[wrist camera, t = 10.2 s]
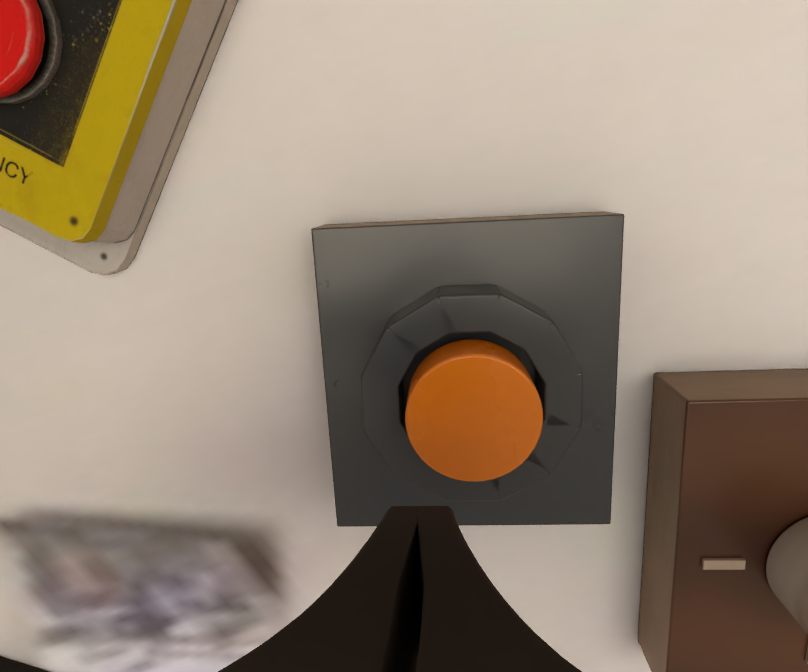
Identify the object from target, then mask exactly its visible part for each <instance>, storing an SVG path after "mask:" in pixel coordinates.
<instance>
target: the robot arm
mask: <svg viewBox="0 0 808 672" xmlns="http://www.w3.org/2000/svg"><path fill="white" fill-rule="evenodd" d="M218 672H581V671H580V670H579V669H577V668H576V667H575V666H573V665H572V664H571V663H569V662H568V661H567V660H565V659H564V658H563V657H561V656H560V655H559V654H558V653H557V652H556V651H555V650H554V649H552V648H551V647H550V646H549V645H548V644H547V643H546V642H545V641H543V640H542V639H541V638H540V637H539V636H538V635H537V634H536V633H535V632H534V631H533V630H532V629H531V628H530V627H529V626H528V625H527V624H526V623H525V622H524V621H523V620H522V619H521V618H520V617H519V616H518V615H517V613H516V612H515V611H514V610H513V609H512V608H511V607H510V605H509V604H508V603H507V602H506V601H505V599H504V598H503V597H502V596H501V594H500V593H499V592H498V591H497V589H496V588H495V587H494V585H493V584H492V582H491V581H490V580H489V578H488V577H487V575H486V574H485V572H484V571H483V569H482V568H481V566H480V565H479V563H478V562H477V560H476V558H475V557H474V555H473V553H472V552H471V550H470V548H469V547H468V545H467V543H466V541H465V539H464V537H463V535H462V533H461V531H460V529H459V526H458V524H457V522H456V519H455V516H454V511H453V510H452V509H451V508H450V507H449V506H391V507H390V508H389V509H388V510H387V511H386V513H385V515H384V517H383V518H382V520H381V522H380V523H379V525H378V526H377V528H376V529H375V531H374V532H373V534H372V535H371V537H370V538H369V539H368V541H367V542H366V543H365V545H364V546H363V547H362V549H361V550H360V551H359V553H358V554H357V555H356V557H355V558H354V559H353V561H352V562H351V563H350V564H349V565H348V567H347V568H346V569H345V570H344V571H343V572H342V573H341V575H340V576H339V577H338V578H337V579H336V580H335V581H334V583H333V584H332V585H331V586H330V587H329V588H328V589H327V590H326V591H325V592H324V593H323V594H322V595H321V596H320V597H319V598H318V599H317V600H316V601H315V602H314V603H313V604H312V605H311V606H310V607H309V608H308V609H306V610H305V611H304V612H303V613H302V614H301V615H300V616H299V617H297V618H296V619H295V620H293V621H292V622H291V623H290V624H288V625H287V626H286V627H284V628H283V629H282V630H280V631H279V632H278V633H277V634H275V635H274V636H273V637H271V638H270V639H269V640H267V641H266V642H264V643H263V644H262V645H260V646H259V647H257V648H255V649H254V650H252V651H251V652H249V653H248V654H246V655H245V656H243V657H242V658H240V659H238V660H237V661H235V662H233V663H232V664H230V665H228V666H227V667H225V668H223V669H222V670H220V671H218Z"/></svg>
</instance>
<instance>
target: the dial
mask: <svg viewBox="0 0 808 672" xmlns="http://www.w3.org/2000/svg"><path fill="white" fill-rule="evenodd" d="M766 574H767V580H768V583H769V586H770V588H771V590H772V591H773V593H774V594H775V596H776V597H777V598H778V599H779V600H780V602H781V603H782V604H783V605H784V607H785V608H786V609H787V610H788V611H789V613H790V614H791V615H792V616H793V617H794V619H795V620H796V621H797V622H798V623H799V625H800V626H801V627H802V628H803V629H804V631H805V632H806V633H807V634H808V517H807V518H804V519H802V520H800V521H798V522H796V523H795V524H793V525H792V526H790V527H789V528H788V529H786V530H785V531H784V532H783V533H782V534H781V535H780V536H779V537H778V538H777V540H776V541H775V543H774V544H773V546H772V548H771V550H770V552H769V555H768V558H767V563H766Z"/></svg>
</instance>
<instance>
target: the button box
mask: <svg viewBox="0 0 808 672" xmlns="http://www.w3.org/2000/svg"><path fill="white" fill-rule="evenodd" d="M623 228H624V214H619V213H611V212H583V213H561V214H540V215H519V216H497V217H476V218H455V219H433V220H412V221H391V222H370V223H348V224H327V225H322V226H319V227H316V228H313V229H312V242H313V253H314V265H315V276H316V288H317V299H318V310H319V322H320V333H321V345H322V356H323V368H324V379H325V390H326V402H327V413H328V425H329V436H330V448H331V459H332V470H333V482H334V493H335V505H336V516H337V525H338V526H378V525H379V523H380V522H381V520H382V518H383V517H384V515H385V513H386V511H387V510H388V509H389V508H390V507H391V506H449V507H450V508H451V509H452V510H453V511H454V516H455V519H456V522H457V524H458V525H558V524H610V520H611V497H612V475H613V453H614V430H615V408H616V385H617V363H618V340H619V318H620V295H621V273H622V250H623ZM467 339H477V340H484V341H489V342H492V343H495V344H497V345H500V346H502V347H504V348H505V349H507V350H509V351H510V352H511V353H513V354H514V355H515V356H516V357H517V358H518V359H519V360H520V361H521V362H522V364H523V365H524V366H525V368H526V369H527V371H528V373H529V375H530V377H531V379H532V381H533V383H534V385H535V387H536V389H537V391H538V394H539V397H540V399H541V403H542V408H543V426H542V431H541V435H540V437H539V440H538V443H537V444H536V446H535V448H534V450H533V451H532V453H531V454H530V455H529V457H528V458H527V459H526V460H525V461H524V462H523V463H522V464H521V465H519V466H518V467H517V468H516V469H514V470H512V471H511V472H509V473H507V474H505V475H503V476H501V477H498V478H495V479H491V480H486V481H477V482H472V481H462V480H457V479H453V478H450V477H447V476H445V475H443V474H441V473H439V472H437V471H435V470H434V469H432V468H431V467H430V466H429V465H427V464H426V463H425V462H424V461H423V460H422V459H421V458H420V457H419V455H418V454H417V453H416V451H415V450H414V448H413V446H412V445H411V442H410V440H409V437H408V434H407V430H406V424H405V411H406V405H407V398H408V392H409V386H410V383H411V379H412V377H413V375H414V373H415V371H416V369H417V368H418V366H419V365H420V364H421V362H422V361H423V360H424V359H425V358H426V357H427V356H428V355H429V354H430V353H432V352H433V351H435V350H436V349H438V348H440V347H441V346H443V345H446V344H448V343H451V342H455V341H459V340H467Z"/></svg>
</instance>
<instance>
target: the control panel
mask: <svg viewBox="0 0 808 672" xmlns="http://www.w3.org/2000/svg"><path fill="white" fill-rule="evenodd" d="M807 517H808V369H792V370H755V371H718V372H681V373H656V374H655V375H654V391H653V407H652V423H651V439H650V456H649V472H648V488H647V505H646V521H645V537H644V553H643V570H642V586H641V602H640V619H639V635H638V641H639V644H640V646H641V648H642V651H643V653H644V655H645V657H646V660H647V662H648V664H649V666H650V669H651V671H652V672H808V634H807V633H806V632H805V631H804V629H803V628H802V627H801V626H800V625H799V623H798V622H797V621H796V620H795V619H794V617H793V616H792V615H791V614H790V613H789V611H788V610H787V609H786V608H785V607H784V605H783V604H782V603H781V602H780V600H779V599H778V598H777V597H776V596H775V594H774V593H773V591H772V590H771V588H770V586H769V583H768V580H767V574H766V563H767V558H768V555H769V552H770V550H771V548H772V546H773V544H774V543H775V541H776V540H777V538H778V537H779V536H780V535H781V534H782V533H783V532H784V531H785V530H786V529H788V528H789V527H790V526H792V525H793V524H795V523H796V522H798V521H800V520H802V519H804V518H807Z"/></svg>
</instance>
